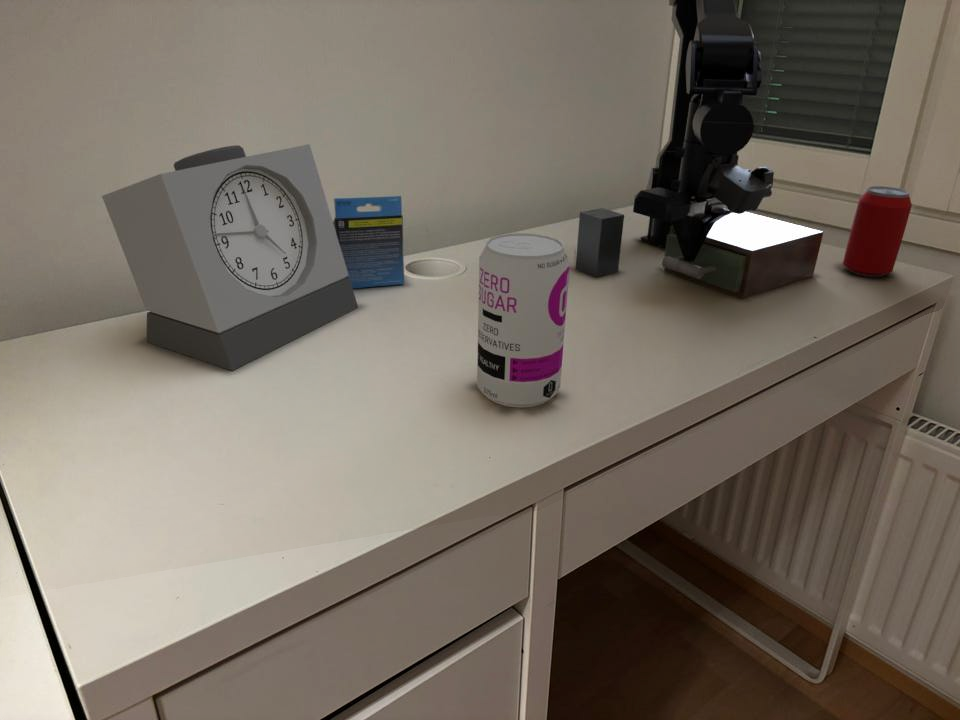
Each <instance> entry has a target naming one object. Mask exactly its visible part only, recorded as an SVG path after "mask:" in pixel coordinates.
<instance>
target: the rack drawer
mask: <svg viewBox="0 0 960 720" xmlns="http://www.w3.org/2000/svg"><path fill="white" fill-rule="evenodd" d="M746 258H747V256H746V255H744V254H741V253H738V252H734V251H731V250H728V249H725V248H721V247H718V246H715V245H712V244H708V243H705V242H704V243H703V245H702V247H701V248H700V250H699V252H698V254H697V256H696V258H695V260H694V261H691V262H688V261H685V260H684V258H683V255H682V252H681V249H680V246H679V243H678V240H677V237H676V234H669V235H667V241H666V248H664V255H663V259H662V260H661V265H662V267H663V268H664V269H665V268H668V269H670V270H673V271H676V272H679V273H682V274H684V275H687V276H690V277H693V278H695V279H698V280H701V281H704V282H707V283H709V284H712V285H715V286H718V287H721V288H723V289H726V290H729V291H732V292H738V291H740V289H741V284H742V279H743V274H744V269H745V263H746Z"/></svg>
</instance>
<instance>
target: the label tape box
mask: <svg viewBox="0 0 960 720" xmlns="http://www.w3.org/2000/svg"><path fill="white" fill-rule="evenodd" d="M333 204H334V219H333V220H332V221H333V224H334V228H335V231H336V234H337V238H338V241H339V245H340V248H341V251H342V255H343V258H344V261H345V265H346V268H347V271H348V275H349V276H347V277H348V278H350V281H351V284H352V288H353V290H354V289H355V290H356V289H365V288H371V287H385V286H396V285H397V286H398V285H405V259H404V257H405V255H404V254H405V253H404V252H405V251H404V216H403V211H402V210H403V209H402V208H403V205H402V195H394V196H393V195H391V196H390V195H389V196H361V197H334V198H333ZM367 205H370V206H371V207H377V208H379V209H378V210H368V211H367V210H365V211H364V210H363V211H359V210H358V208H361V207H362V208H363V207H366V206H367Z"/></svg>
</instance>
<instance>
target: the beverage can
mask: <svg viewBox="0 0 960 720" xmlns="http://www.w3.org/2000/svg"><path fill="white" fill-rule="evenodd" d="M910 194H911V193H910V191H908V190H905V189H903V188H898V187H892V186H883V185H882V186H881V185H880V186H879V185H876V186H869V187H867V189H866V191H865V192H864V193H863V194H862V195H861V196H860V197H859V198H858V202H857V206H856V209H855V213H854V216H853V221H852V224H851V228H850V231H849V236H848V240H847V244H846V247H845V251H844V256H843V260H842V265H843V266H844V267H845V268H847V270H848V271H850V272H851V273H854V274H855V275H858V276H859V275H860V276H864V277H872V278H878V277H883V276H885V275H887V274H891V273H892V272H893V271H894V268H895V265H896V261H897V258H898V255H899V251H900V248H901V245H902V241H903V238H904V235H905V231H906V229H907V224H908V220H909V217H910V214H911V210H912V207H913V204H912V201H911V197H910Z"/></svg>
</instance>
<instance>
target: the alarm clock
mask: <svg viewBox="0 0 960 720" xmlns="http://www.w3.org/2000/svg"><path fill="white" fill-rule="evenodd" d="M173 168H174V170H173V171H168V172H164V173H159V174H156V175H154V176H151V177H148V178H146V179H143V180H140V181H137V182H135V183H133V184H129V185H127V186H125V187H121V188H119V189H117V190H114V191H112V192H109V193H106V194H103V195H101V198H102V200H103V203H104V205H105V208H106V211H107V213H108V217H109V218H110V221H111V223H112V227H113V228H114V231H115V233H116V236H117V239H118V241H119V244H120V246H121V250H122V252H123V255H124V257H125V259H126V262H127V264H128V267H129V270H130V272H131V274H132V278H133V281H134V283H135V285H136V288H137V290H138V293H139V295H140V298H141V301H142V303H143V307H144V308H145V311H147V312H146V337H145V338H146V339H145V341H146V343H150V344H151V345H155V346H158V347H160V348H163V349H166V350H170V351H173V352H176V353H179V354H180V355H184V356H187V357H190V358H193V359H195V360H198V361H201V362H205V363H207V364H211V365H214V366H215V367H216V366H217V367H219V368H222V369H225V370H228V371H231V372H233V371H235V370H237V369H239V368H241V367H243V366H245V365H247V364H249V363H252V362H254V361H255V360H257V359H259V358H261V357H263V356H265V355H267V354H269V353H271V352H274V351H275V350H277V349H279V348H281V347H284V346H285V345H287V344H289V343H291V342H293V341H295V340H297V339H299V338H301V337H303V336H305V335H307V334H309V333H311V332H313V331H315V330H317V329H319V328H321V327H323V326H325V325H327V324H329V323H331V322H333V321H334V320H337V319H339V318H340V317H343V316H345V315H347V314H348V313H351V312H352V311H354V310H356V309H358V308H359V305H358V302H357V299H356V296H355V292H354V289H353V288H352V284H351V281H350V278H348V277H347V276H349V275H348V271H347V268H346V265H345V261H344V258H343V255H342V251H341V248H340V245H339V241H338V238H337V234H336V231H335V228H334V224H333V221H334V220H333V217H332V214H331V212H330V208H329V205H328V201H327V197H326V195H325V191H324V188H323V184H322V181H321V178H320V174H319V171H318V168H317V164H316V161H315V157H314V155H313V151H312V147H311V144H310V143H309V144H303V145H298V146H294V147H293V146H292V147H288V148H283V149H277V150H273V151H268V152H262V153H258V154H253V155H246V152H245V149H244V147H242V146H241V145H239V144H237V145H228V146H222V147H217V148H213V149H209V150H205V151H202V152H197V153H195V154H192V155H188V156H185V157H182V158H181V159H179V160H177V161H175V162H174V163H173Z"/></svg>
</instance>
